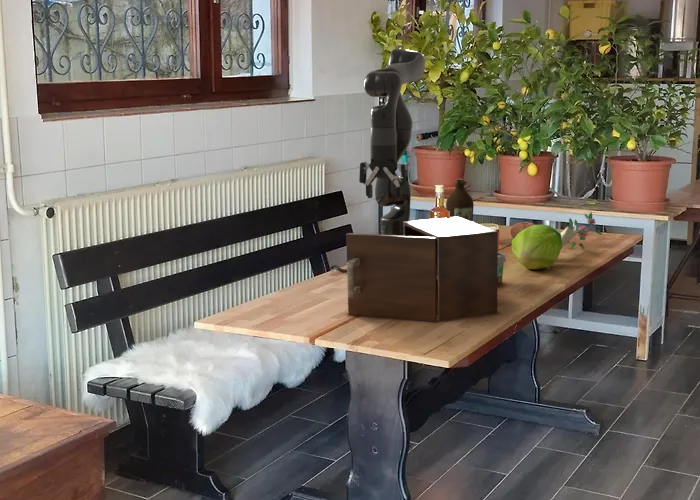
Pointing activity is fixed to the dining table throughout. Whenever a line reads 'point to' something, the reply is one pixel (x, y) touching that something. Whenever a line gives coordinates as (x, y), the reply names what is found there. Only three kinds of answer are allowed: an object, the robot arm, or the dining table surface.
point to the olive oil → (460, 202)
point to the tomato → (519, 228)
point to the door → (392, 276)
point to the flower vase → (582, 231)
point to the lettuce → (537, 246)
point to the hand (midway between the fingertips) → (383, 198)
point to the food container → (500, 268)
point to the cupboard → (462, 265)
